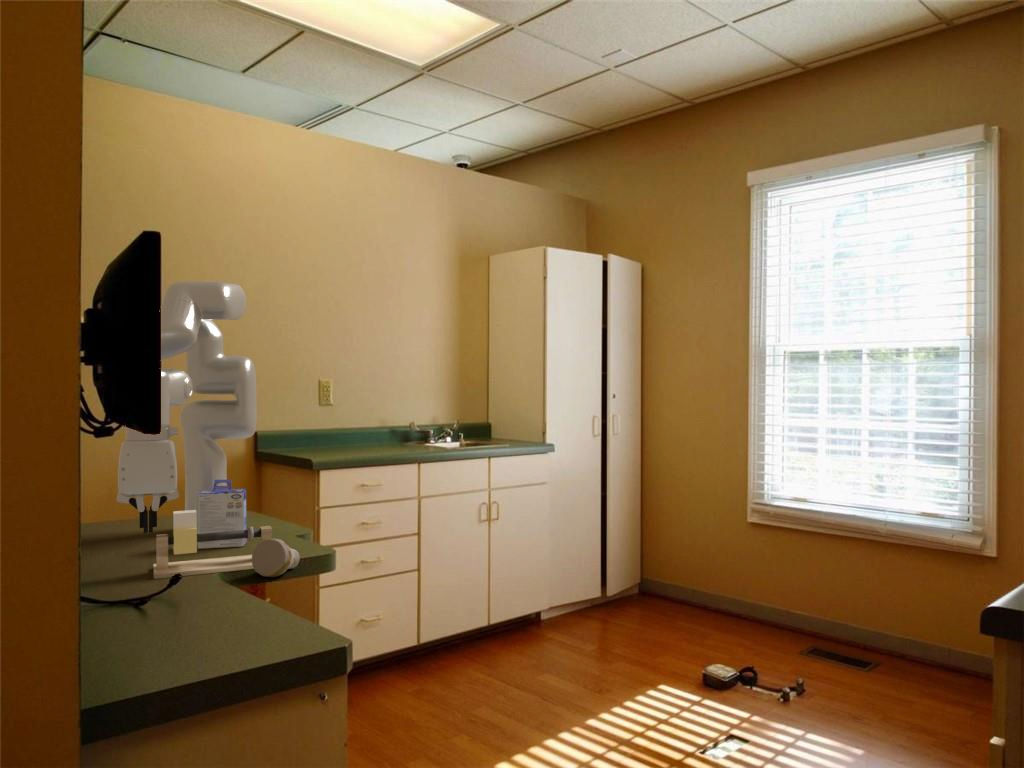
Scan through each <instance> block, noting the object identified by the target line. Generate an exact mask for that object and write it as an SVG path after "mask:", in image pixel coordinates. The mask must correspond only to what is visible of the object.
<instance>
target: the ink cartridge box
mask: <svg viewBox="0 0 1024 768" xmlns="http://www.w3.org/2000/svg"><path fill="white" fill-rule="evenodd" d="M222 482H224V483H227V486H217V484H218V483H222ZM197 503H198V534H204V533H216V532H228V531H240V530H247V490H246V488H237V489H235V488H232V479H227V480H215V481H214V488H213V491H201V492H200V493H199V494H198V495H197ZM246 543H247V538H242V539H231V540H219V541H208V542H197V550H201V549H202V550H203V549H217V548H219V549H220V548H237V547H240V548H241V547H244V546H245V545H246Z"/></svg>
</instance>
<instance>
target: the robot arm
mask: <svg viewBox="0 0 1024 768" xmlns="http://www.w3.org/2000/svg"><path fill="white" fill-rule="evenodd" d="M243 289H244V288H242V287H241V285H240V284H237V283H229V282H224V281H201V280H198V281H197V280H196V281H195V280H186V281H185V280H182V281H177V282H174V283H172V284H170V285H169V286H168V287H167V289H166V290H165V292H164V296H163V299H162V302H161V304H160V308H161V360H160V361H163V360H167V359H169V358H172V357H175V356H177V355H180V354H184V353H185V352H186V353H185V363H186V365H185V366H186V367H185V368H186V369H185V370H186V372H185V371H183V370H181V369H179V368H178V369H176V368H160V369H161V432H160V434H156V435H151V434H143V433H141V432H138V431H136V430H133V429H130V428H127V427H126V426H125V441H123V442H121V445H120V449H119V454H118V455H119V456H118V469H117V489H118V492H117V496H116V502H118V503H123V504H130V505H131V506H132V507H134V508H135V510H137V511H138V513H139V529H143V534H147V533H150V534H151V533H154V528H158V511H159V509H160V508H162V506H163V505H164V504H165V503H167V502H168V501H173V500H176V499H179V497H180V494H179V490H178V465H177V464H178V462H177V451H176V447H175V446H176V445H175V442H174V440H171V439H170V437H172V436H178V433H179V429H178V427H172V426H171V425H170V424H171V423H170V422H171V421H170V420H171V419H170V408H171V407H180V406H183V405H184V404H185V405H184V406H183V408H182V409H181V411H180V426H181V431H182V437H183V444H184V445H183V447H184V511H186V510H196V516H197V534H198V503H197V495H198V494H199V493H200V492H201V491H213V488H214V481H215V480H228V479H227V477H228V473H227V472H228V471H227V470H228V469H227V467H228V466H227V465H228V464H227V463H228V462H227V461H228V460H227V455H226V452H225V450H224V449H223V448H222V446H220V444H219V443H218V442H217V441H216V440H234V439H235V440H239V439H241V440H242V439H243V440H244V439H248V438H252V437H253V436H254V435H255V433H256V431H257V425H258V408H257V407H258V401H257V400H258V398H257V397H258V394H257V373H256V372H257V371H256V368H255V367H256V366H255V364H254V362H253V361H252V359H251V358H250V357H247V356H243V355H225V352H224V335H223V332H222V331H221V330H220V328H219V326H218V325H217V324H216V323H215V322H214V321H213V320H216V321H219V320H220V321H238V320H240V319H242V317H243V316H244V314H245V312H246V309H247V296H246V293H245V291H244V290H243ZM193 393H194V394H197V395H211V396H212V395H214V396H215V395H217V396H218V395H220V396H221V395H232V396H234V397H235V399H233V400H232V399H231V400H230V399H228V400H227V399H224V400H223V399H200V400H193V401H191V402H188V401H189V400H190V398H191V397H192V395H193ZM187 402H188V403H187ZM217 486H228V483H224V482H222V483H218V484H217ZM144 496H152V501H151V502H152V503H151V505H150V506H149V509H147V508H148V507H147V506H146V505H145V499H144Z"/></svg>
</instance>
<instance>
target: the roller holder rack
mask: <svg viewBox="0 0 1024 768" xmlns="http://www.w3.org/2000/svg"><path fill="white" fill-rule="evenodd" d="M155 536H156V537H155V539H156V541H155V542H156V543H155V546H156V547H155V548H156V551H155V552H156V563H153V564H152V565H153V580H157V579H167V578H173V577H172V576H174V575H175V574H178V573H180V574H181V575H182V576H181V577H185V576H187V577H188V576H196V575H197V576H198V575H208V574H215V573H216V574H217V573H223V572H224V573H225V572H227V573H228V572H234V571H244V570H254V567H253V565H252V554H245V555H244V554H243V555H237V556H236V555H235V556H224V557H213V558H212V557H211V558H204V559H191V560H183V561H182V560H181V561H172V562H171V561H169V546H170V545H172V546H173V544H174V536H173V535H169V534H168V533H163V534H156V535H155ZM242 538H246V542H251V541H252V542H253V541H254V539H255V538H259V544H260V543H261V542H262V541H264V540H267V539H273V527H272V526H271V525H265V526H263V525H262V526H259V528H257V529H256V528H254V526H246V530H240V531H228V532H216V533H204V534H197V543H198V542H208V541H219V540H231V539H242Z"/></svg>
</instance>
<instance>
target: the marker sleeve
mask: <svg viewBox="0 0 1024 768" xmlns="http://www.w3.org/2000/svg"><path fill="white" fill-rule="evenodd" d="M172 512H173V513H172V515H173V516H172V521H173V522H172V523H173V524H172V525H173V526H172V529H173V530H172V536H174V544H173V545H172V546H173V547H172V550H173V555H175V556H176V555H184V554H194V553H198V549H197V548H198V542H197V516H196V510H186V511H185V510H177V511H176V510H174V511H172Z"/></svg>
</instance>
